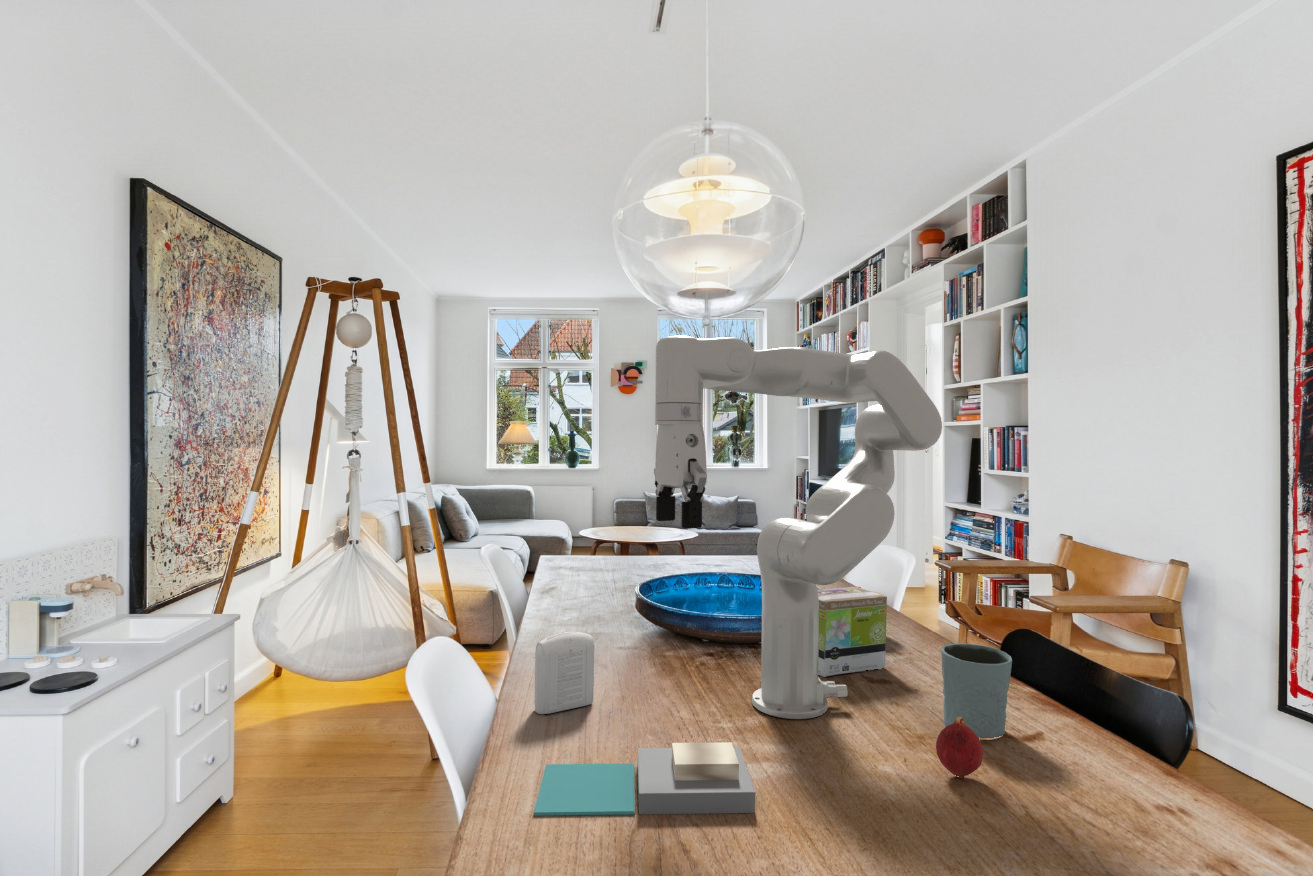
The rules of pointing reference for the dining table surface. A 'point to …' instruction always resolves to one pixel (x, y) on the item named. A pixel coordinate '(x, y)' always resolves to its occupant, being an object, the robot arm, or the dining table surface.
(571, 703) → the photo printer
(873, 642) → the tea box
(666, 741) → the dining table surface
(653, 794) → the grey flat slab
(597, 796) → the teal mat
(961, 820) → the dining table surface
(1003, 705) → the blue ceramic planter
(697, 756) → the birch tile
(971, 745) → the onion
